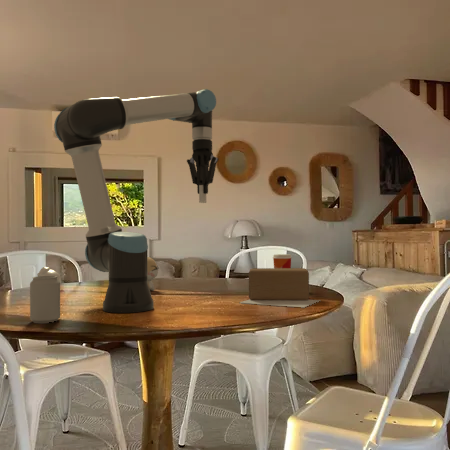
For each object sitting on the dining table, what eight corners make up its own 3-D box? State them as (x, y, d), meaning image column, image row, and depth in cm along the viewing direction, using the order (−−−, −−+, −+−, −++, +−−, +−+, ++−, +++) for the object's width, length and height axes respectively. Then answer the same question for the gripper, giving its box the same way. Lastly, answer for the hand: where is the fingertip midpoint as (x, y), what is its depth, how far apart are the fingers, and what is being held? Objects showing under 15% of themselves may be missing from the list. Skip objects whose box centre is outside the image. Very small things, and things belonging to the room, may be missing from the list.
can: (63, 318, 130) (63, 274, 130) (55, 323, 122) (54, 277, 123) (36, 318, 130) (36, 275, 130) (25, 324, 122) (25, 277, 122)
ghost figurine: (41, 290, 194) (41, 266, 194) (64, 290, 194) (64, 265, 194) (31, 293, 185) (31, 267, 185) (55, 293, 185) (55, 267, 185)
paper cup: (269, 289, 191) (269, 254, 191) (287, 288, 193) (286, 254, 193) (277, 291, 183) (277, 255, 184) (295, 290, 186) (295, 254, 186)
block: (250, 296, 168) (307, 296, 166) (248, 300, 158) (309, 300, 156) (249, 268, 168) (306, 268, 167) (248, 270, 158) (309, 270, 157)
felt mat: (303, 308, 143) (303, 307, 143) (239, 303, 154) (239, 302, 154) (320, 301, 157) (320, 300, 157) (260, 297, 168) (260, 296, 168)
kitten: (155, 293, 182) (155, 254, 182) (129, 293, 182) (129, 254, 182) (160, 288, 197) (160, 252, 197) (136, 288, 197) (136, 252, 197)
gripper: (222, 140, 179) (222, 202, 179) (193, 143, 186) (193, 203, 185) (211, 136, 173) (212, 201, 172) (182, 140, 179) (182, 202, 179)
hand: (202, 202), depth 179 cm, fingers closed
